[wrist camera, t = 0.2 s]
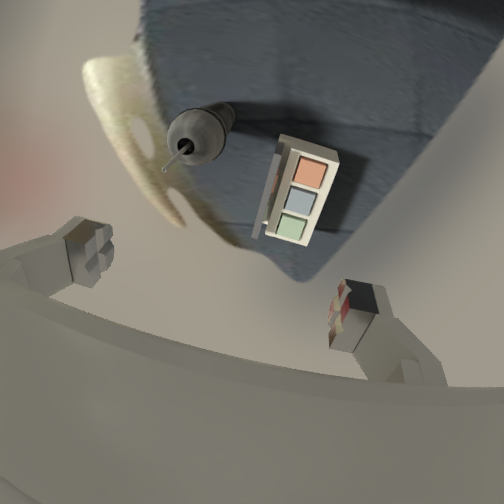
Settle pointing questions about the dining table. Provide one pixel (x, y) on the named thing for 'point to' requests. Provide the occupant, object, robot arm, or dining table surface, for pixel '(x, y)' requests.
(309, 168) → the key terracotta
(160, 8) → the dining table surface
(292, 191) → the key slate
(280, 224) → the key sage
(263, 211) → the keypad console
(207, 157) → the beverage cup
